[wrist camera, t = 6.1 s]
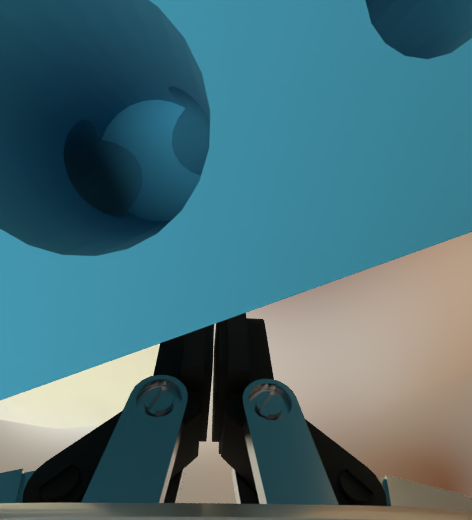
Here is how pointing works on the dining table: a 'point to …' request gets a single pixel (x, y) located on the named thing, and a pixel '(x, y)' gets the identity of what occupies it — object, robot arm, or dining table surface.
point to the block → (214, 161)
